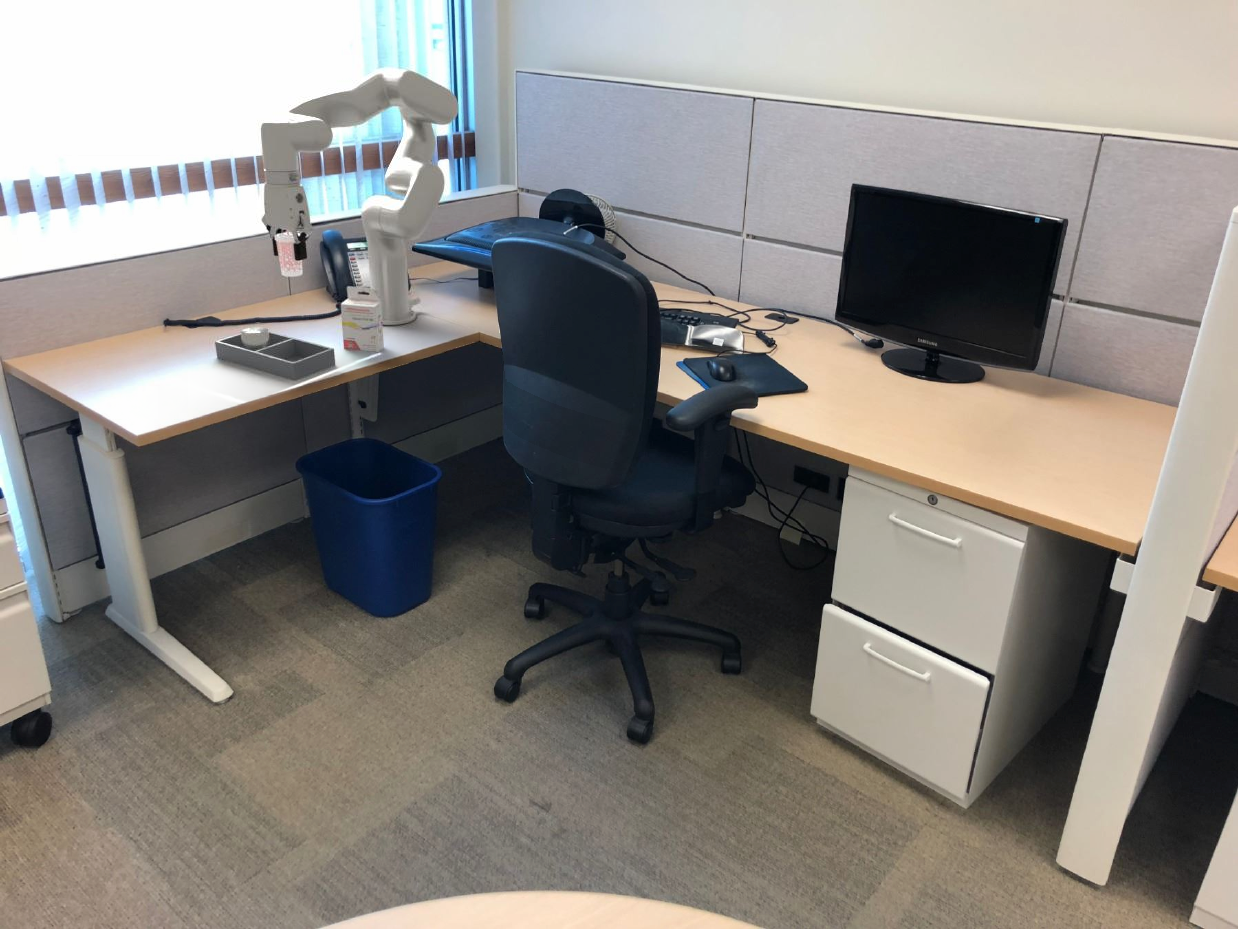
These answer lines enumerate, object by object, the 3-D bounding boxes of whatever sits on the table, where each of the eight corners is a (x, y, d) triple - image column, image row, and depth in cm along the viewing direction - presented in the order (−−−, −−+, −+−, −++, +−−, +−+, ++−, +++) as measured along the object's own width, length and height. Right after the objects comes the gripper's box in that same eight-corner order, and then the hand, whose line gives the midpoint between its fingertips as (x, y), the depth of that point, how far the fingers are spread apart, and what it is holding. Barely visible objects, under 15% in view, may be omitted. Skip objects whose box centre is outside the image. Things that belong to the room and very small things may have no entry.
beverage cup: (311, 273, 233) (305, 213, 227) (291, 278, 229) (284, 217, 223) (293, 269, 236) (287, 209, 230) (272, 274, 231) (265, 213, 225)
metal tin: (258, 349, 234) (255, 325, 231) (276, 355, 231) (274, 330, 229) (238, 356, 229) (234, 331, 227) (256, 362, 227) (253, 336, 224)
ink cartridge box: (343, 351, 237) (338, 291, 231) (350, 344, 242) (345, 285, 235) (378, 354, 237) (374, 293, 230) (384, 347, 241) (381, 287, 235)
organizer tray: (259, 346, 238) (256, 327, 236) (335, 367, 228) (334, 348, 226) (217, 360, 229) (214, 341, 227) (295, 383, 218) (293, 363, 216)
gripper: (322, 180, 222) (329, 260, 230) (268, 170, 230) (276, 248, 238) (297, 184, 216) (305, 266, 224) (242, 174, 224) (251, 254, 232)
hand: (290, 256), depth 231 cm, fingers closed on beverage cup, 6 cm apart
